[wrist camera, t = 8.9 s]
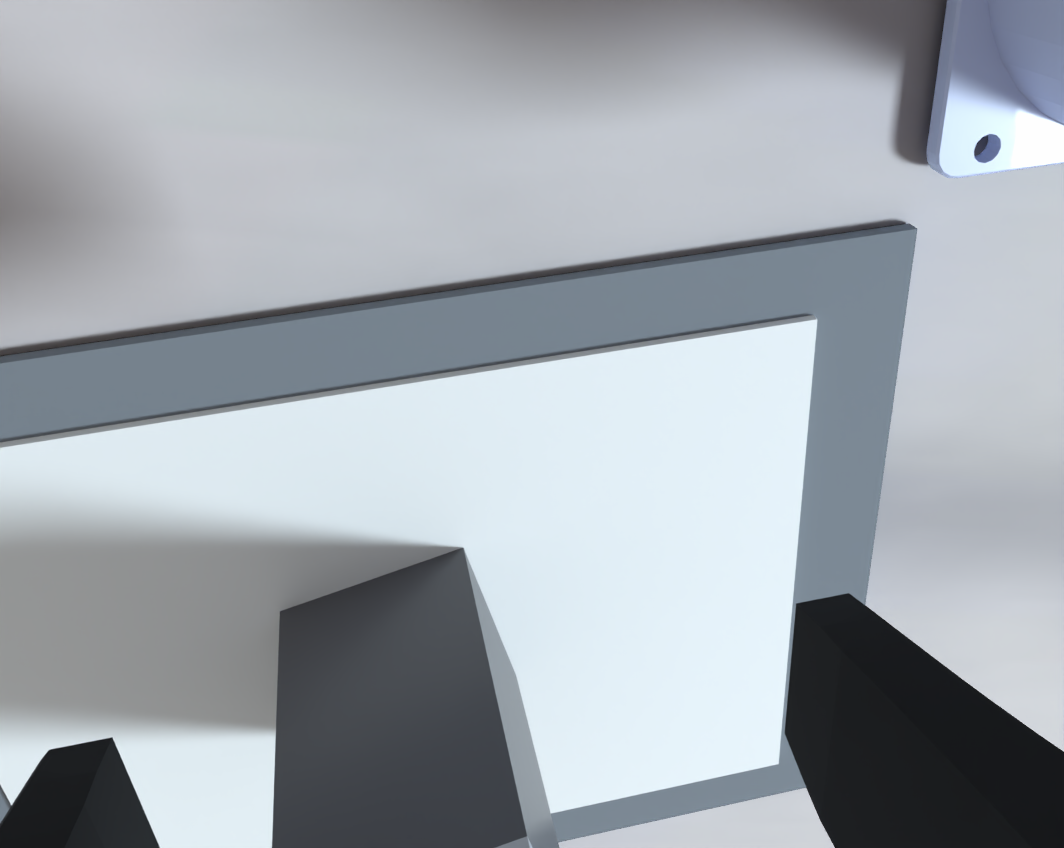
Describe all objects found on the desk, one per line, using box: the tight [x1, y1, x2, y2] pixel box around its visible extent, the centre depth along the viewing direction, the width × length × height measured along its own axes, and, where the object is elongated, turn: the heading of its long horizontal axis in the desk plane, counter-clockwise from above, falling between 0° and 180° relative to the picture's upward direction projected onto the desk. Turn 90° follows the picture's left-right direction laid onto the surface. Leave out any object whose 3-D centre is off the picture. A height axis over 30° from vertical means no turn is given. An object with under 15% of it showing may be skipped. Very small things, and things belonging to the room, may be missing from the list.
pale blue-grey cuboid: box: [272, 548, 559, 848], centre depth 18 cm, size 4×4×9 cm
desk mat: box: [0, 224, 917, 848], centre depth 22 cm, size 22×16×1 cm
